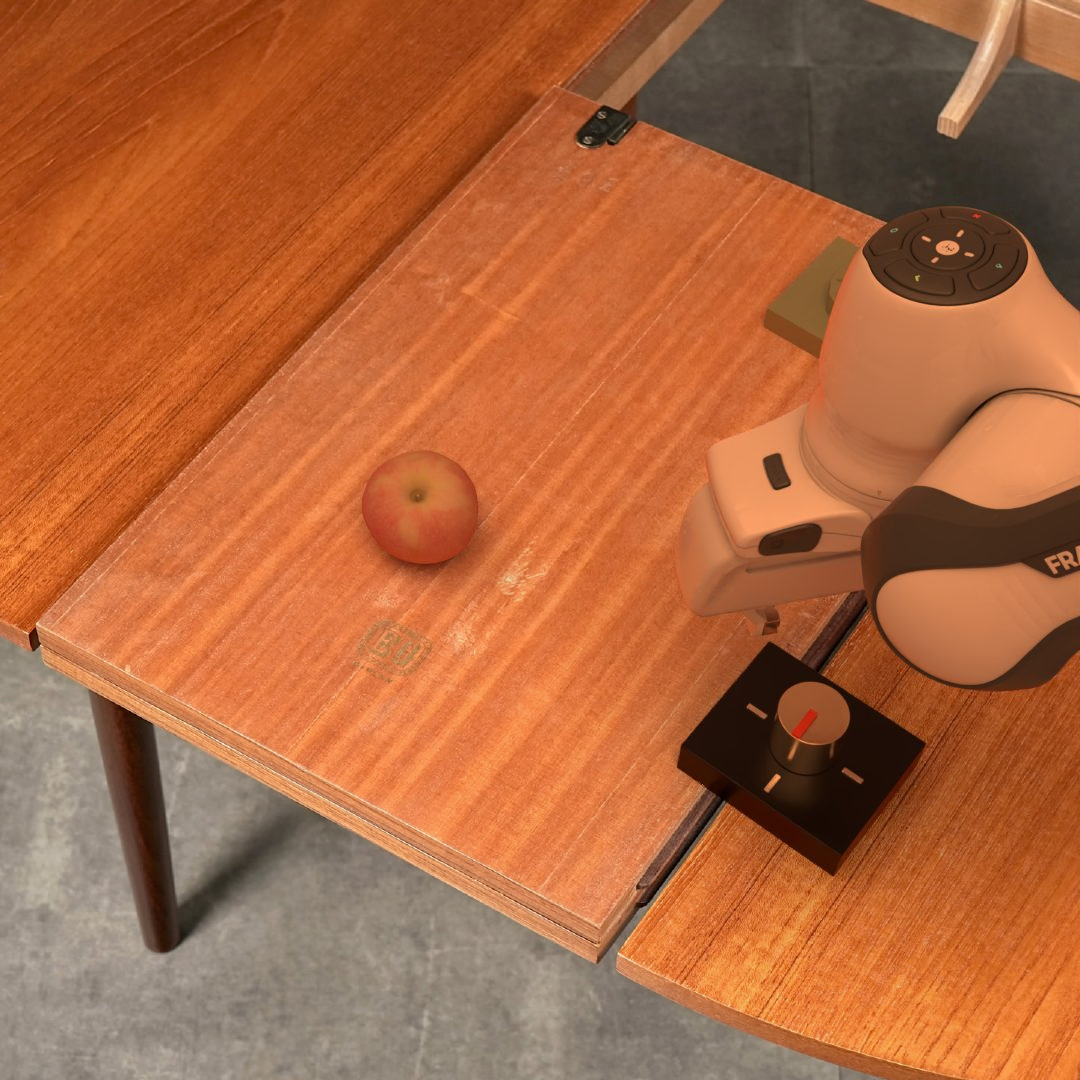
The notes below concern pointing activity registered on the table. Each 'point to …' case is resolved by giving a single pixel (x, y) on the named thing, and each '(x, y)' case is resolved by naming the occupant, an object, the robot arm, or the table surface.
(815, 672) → the panel
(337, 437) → the table surface
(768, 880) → the table surface
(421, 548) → the apple
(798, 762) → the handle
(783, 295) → the button block
